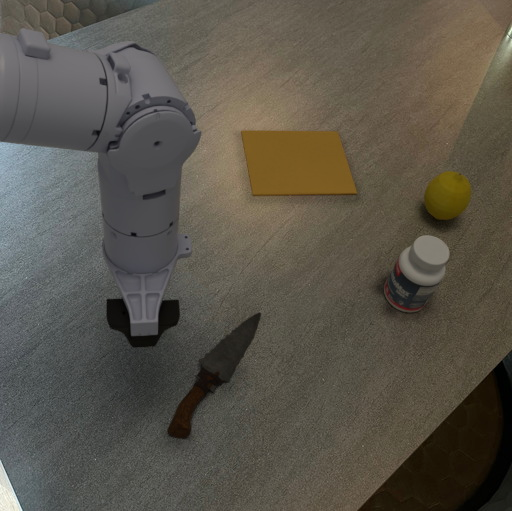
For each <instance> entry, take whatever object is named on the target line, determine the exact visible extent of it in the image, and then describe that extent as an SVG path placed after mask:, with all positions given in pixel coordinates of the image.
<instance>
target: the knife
mask: <svg viewBox="0 0 512 511" xmlns="http://www.w3.org/2000/svg"><path fill="white" fill-rule="evenodd" d="M261 317H262V312H257V313H255V314H253V315H251V316H249V318H247V319H245V320H243V322H241V323H240V324H239V325H238V326H237V327H235V328H234V329H232V330H231V332H230V333H229V334H226V335H225V337H224V338H222V339H221V340H220V341H219V342H218V343H216V345H215V346H214V347H213V348H212V349H211V350H210V351H209V352H207V353H205V354H204V357H201V358H199V359H198V362H199V364H201V365H202V366H201V368H200V371H199V372H198V373H197V374H195V376H194V377H195V379H197V381H195V383H194V384H193V386H192V387H191V388H190V390H189V391H188V392H187V393H186V395H184V397H183V398H182V400H180V402H179V404H178V405H177V408H176V410H175V413H174V414H173V417H172V419H171V421H170V423H169V425H168V427H167V433H168V435H169V436H171V437H174V438H177V439H187V438H188V437H189V436H190V435H191V432H192V423H191V422H192V418H193V414H194V411H195V410H196V407H197V406H198V404H199V403H200V402H201V399H203V397H205V396H207V394H208V393H209V391H210V392H212V393H215V391H216V388H218V387H219V386H220V385H221V384H223V383H224V382H225V383H229V382H230V380H231V377H232V376H233V373H234V372H236V368H237V365H238V364H239V363H240V361H241V359H242V358H244V357H245V356H244V354H245V352H246V350H247V348H248V347H249V346H250V345H251V343H252V341H253V339H254V337H255V334H256V331H257V329H258V327H259V322H260V319H261Z"/></svg>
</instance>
